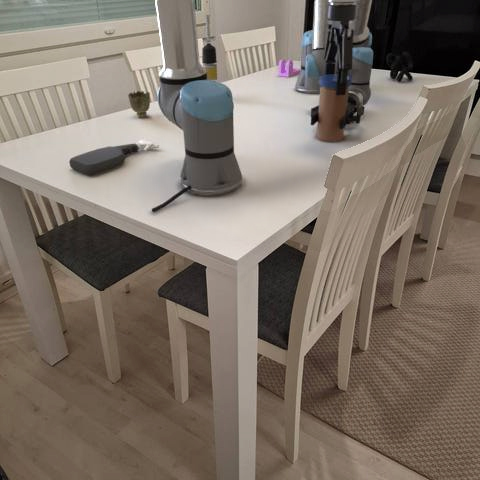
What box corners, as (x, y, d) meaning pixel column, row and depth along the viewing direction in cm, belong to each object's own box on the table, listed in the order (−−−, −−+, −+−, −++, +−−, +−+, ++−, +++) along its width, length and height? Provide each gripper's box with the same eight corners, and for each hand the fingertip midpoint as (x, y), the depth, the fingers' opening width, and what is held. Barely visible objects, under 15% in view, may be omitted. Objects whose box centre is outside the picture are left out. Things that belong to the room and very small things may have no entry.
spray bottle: (67, 168, 120) (139, 144, 136) (91, 178, 114) (163, 151, 130) (65, 157, 118) (137, 134, 134) (89, 167, 112) (162, 142, 128)
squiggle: (400, 92, 202) (376, 71, 205) (417, 76, 202) (392, 56, 205) (405, 81, 191) (380, 59, 194) (423, 64, 191) (397, 42, 194)
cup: (126, 117, 158) (123, 94, 154) (140, 112, 164) (137, 89, 160) (143, 120, 155) (140, 96, 151) (156, 114, 161) (153, 91, 157)
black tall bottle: (220, 99, 177) (217, 15, 161) (206, 100, 176) (202, 16, 160) (215, 96, 182) (212, 14, 166) (202, 97, 180) (197, 14, 164)
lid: (357, 84, 129) (358, 77, 128) (337, 89, 124) (337, 82, 123) (332, 79, 135) (333, 72, 134) (312, 84, 130) (312, 77, 129)
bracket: (288, 77, 209) (289, 61, 205) (278, 75, 212) (278, 60, 208) (302, 72, 218) (303, 57, 214) (292, 70, 221) (293, 55, 217)
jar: (347, 136, 138) (353, 79, 129) (336, 143, 133) (342, 85, 124) (323, 131, 142) (327, 76, 133) (312, 139, 137) (316, 82, 128)
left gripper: (373, 6, 110) (361, 99, 121) (340, 0, 128) (333, 81, 140) (344, 7, 108) (335, 101, 120) (315, 1, 127) (310, 83, 139)
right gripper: (379, 118, 145) (360, 140, 129) (317, 111, 154) (292, 130, 137) (382, 95, 141) (363, 114, 125) (319, 88, 150) (293, 105, 133)
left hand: (334, 90), depth 130 cm, fingers closed on lid, 9 cm apart
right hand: (326, 122), depth 131 cm, fingers closed on jar, 8 cm apart
